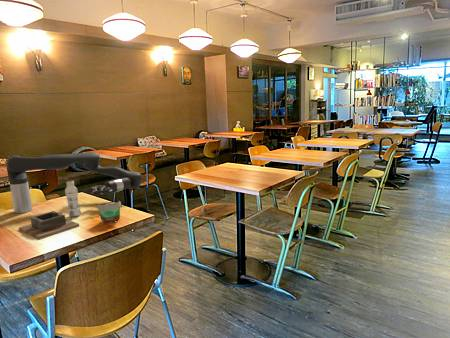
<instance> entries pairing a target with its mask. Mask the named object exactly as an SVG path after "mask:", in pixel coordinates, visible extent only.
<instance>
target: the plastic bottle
mask: <svg viewBox="0 0 450 338" xmlns="http://www.w3.org/2000/svg"><path fill="white" fill-rule="evenodd" d="M78 191H79V190H78V188H77V187H76V186H75V181H74V180H67V181H66V187H65V189H64V194H65V197H66V201H67V214H68V216H69V217H70V218H72V217H78V216H80V215H81V207H80V203H79V198H78V193H79V192H78Z"/></svg>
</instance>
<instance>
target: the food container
mask: <svg viewBox="0 0 450 338" xmlns="http://www.w3.org/2000/svg"><path fill="white" fill-rule="evenodd" d="M121 206H122V203H121V201H120V200H118V202H108V203H107V202H106V203H104V204H97V205H96V209H98V213H99V217H100V221H102V222H103V224H111V223H110V222H114V223H116V222H115V221H117V222H119V221H120V220H121ZM119 219H120V220H119ZM118 220H119V221H118ZM102 222H101V223H102Z"/></svg>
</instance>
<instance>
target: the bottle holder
mask: <svg viewBox="0 0 450 338" xmlns="http://www.w3.org/2000/svg"><path fill="white" fill-rule="evenodd" d="M77 227H80V223H79V222H75V221H72V220H70V219H68V218H66V215H65V214H63V213H61V212H57V211H55V210H52V211H48V212H44V213H41V214H38V215H34V216H31V217H30V223H29V224H26V225H21V226H19V227H18V231H21V232H23V233H25V234H27V235H29V236H31V237H34V238H35V239H38V240H42V239H45V238H48V237H50V236H53V235H56V234H60V233H62V232H65V231H69V230H71V229H74V228H77Z"/></svg>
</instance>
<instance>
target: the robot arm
mask: <svg viewBox="0 0 450 338" xmlns="http://www.w3.org/2000/svg"><path fill="white" fill-rule="evenodd" d="M100 158H101V157H100V154H99V153H97V152H95V151H87V152H77V153H68V154H67V153H63V154H62V153H61V154H60V153H59V154H55V153H54V154H46V155H45V154H44V155H41V156H35V157H30V156H29V157H27V156H25V157H24V156H20V155H19V154H18V155H17V154H13V155H10V156H8V157H7V159H6V160H5V167H6V171H7V177H8V182H9V186H10V187H9V188H10V193H11V200H12V206H13V212H14V213H16V214H23V213H24V214H25V213H28V212H31V211H32V210H33V205H32V200H31V199H32V198H31V193H30V187H29V179H28V175H27V172H29V171H35V170H36V171H37V170H41V171H44V170H45V171H48V170H49V171H51V170H52V171H53V170H65V169H67V168H68V167H70V166H72V165H73V164H74V165H75V164H77V163H79V162H83V165H82V166H83V168H84V169H86V170H87V171H90V172H94V173H98V174H102V175H105V176H109V177H113V178H115V179H112V180H108V181H105V182H104V184H102V185H101V184H98V185H97V184H96V185H93V186H90V188H86V189H85V193H86V194H89V193H93V196H97V195H106V194H115V193H118V192H120V191H122V190H130V189H131V190H133V189H134V190H136V189H139V188H140V187H141V185H142V181H143V175H142V173H140V172H137V171H130V170H126V169H124V168H121V167H118V166H110V167H104V166H101V165H100Z"/></svg>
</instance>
